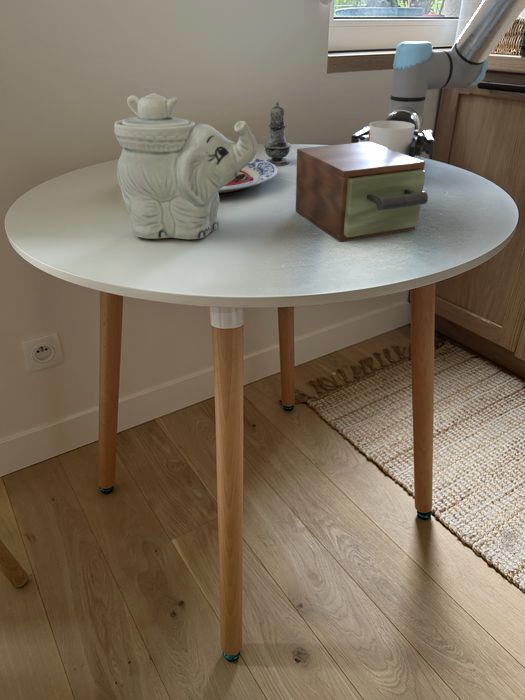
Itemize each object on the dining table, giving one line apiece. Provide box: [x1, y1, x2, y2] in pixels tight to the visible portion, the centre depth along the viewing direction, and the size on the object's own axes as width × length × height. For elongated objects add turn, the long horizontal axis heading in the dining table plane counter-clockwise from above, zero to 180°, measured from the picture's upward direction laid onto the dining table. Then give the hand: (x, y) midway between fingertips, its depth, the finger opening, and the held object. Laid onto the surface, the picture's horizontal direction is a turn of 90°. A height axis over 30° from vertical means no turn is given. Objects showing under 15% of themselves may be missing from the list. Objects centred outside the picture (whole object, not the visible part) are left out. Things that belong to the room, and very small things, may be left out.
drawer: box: [344, 169, 429, 237], centre depth 79 cm, size 18×12×8 cm, turn 22°
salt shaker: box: [263, 100, 292, 167], centre depth 113 cm, size 6×6×12 cm
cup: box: [368, 120, 415, 156], centre depth 100 cm, size 8×8×10 cm
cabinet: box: [295, 141, 426, 242], centre depth 82 cm, size 15×13×10 cm
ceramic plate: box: [218, 157, 278, 194], centre depth 103 cm, size 26×26×3 cm
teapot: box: [113, 92, 258, 240], centre depth 76 cm, size 16×15×19 cm
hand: (385, 153), depth 96 cm, fingers open, 8 cm apart
